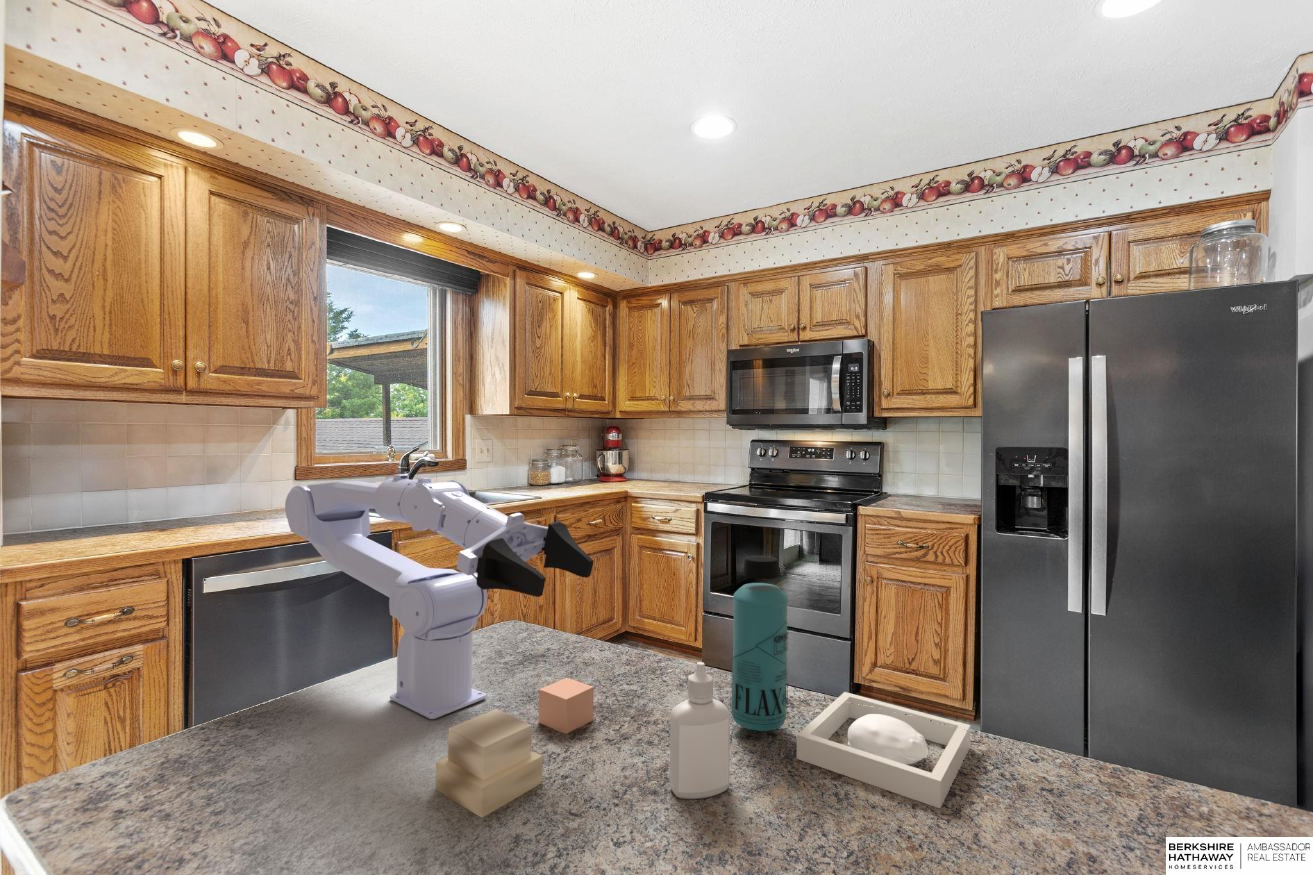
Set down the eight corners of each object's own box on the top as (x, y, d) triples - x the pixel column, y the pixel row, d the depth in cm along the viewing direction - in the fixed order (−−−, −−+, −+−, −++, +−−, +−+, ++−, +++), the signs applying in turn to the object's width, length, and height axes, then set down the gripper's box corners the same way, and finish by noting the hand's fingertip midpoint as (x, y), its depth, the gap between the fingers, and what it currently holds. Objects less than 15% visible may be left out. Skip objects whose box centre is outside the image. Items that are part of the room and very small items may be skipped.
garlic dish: (796, 758, 64) (796, 734, 64) (844, 712, 75) (844, 691, 75) (940, 808, 56) (940, 781, 56) (970, 747, 67) (970, 725, 67)
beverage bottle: (723, 738, 68) (725, 559, 68) (738, 713, 75) (740, 549, 75) (781, 750, 66) (784, 564, 66) (792, 723, 72) (794, 554, 72)
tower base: (435, 793, 58) (436, 761, 58) (496, 763, 63) (496, 734, 63) (481, 822, 54) (482, 788, 54) (542, 786, 59) (542, 755, 59)
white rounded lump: (939, 760, 65) (940, 725, 65) (911, 785, 60) (911, 746, 60) (868, 733, 70) (869, 700, 70) (837, 753, 66) (838, 718, 66)
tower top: (448, 759, 58) (448, 728, 58) (495, 737, 63) (496, 708, 63) (483, 780, 55) (483, 747, 55) (531, 755, 59) (531, 724, 59)
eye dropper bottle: (726, 806, 56) (728, 674, 56) (666, 798, 57) (667, 669, 57) (730, 779, 60) (732, 657, 60) (674, 773, 61) (675, 653, 61)
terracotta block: (538, 723, 72) (539, 689, 72) (566, 710, 75) (566, 677, 75) (565, 734, 69) (566, 699, 69) (593, 720, 73) (593, 686, 73)
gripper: (436, 510, 66) (523, 559, 59) (533, 491, 78) (615, 530, 71) (428, 569, 68) (512, 624, 61) (524, 541, 80) (603, 585, 73)
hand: (567, 577), depth 66 cm, fingers open, 7 cm apart
